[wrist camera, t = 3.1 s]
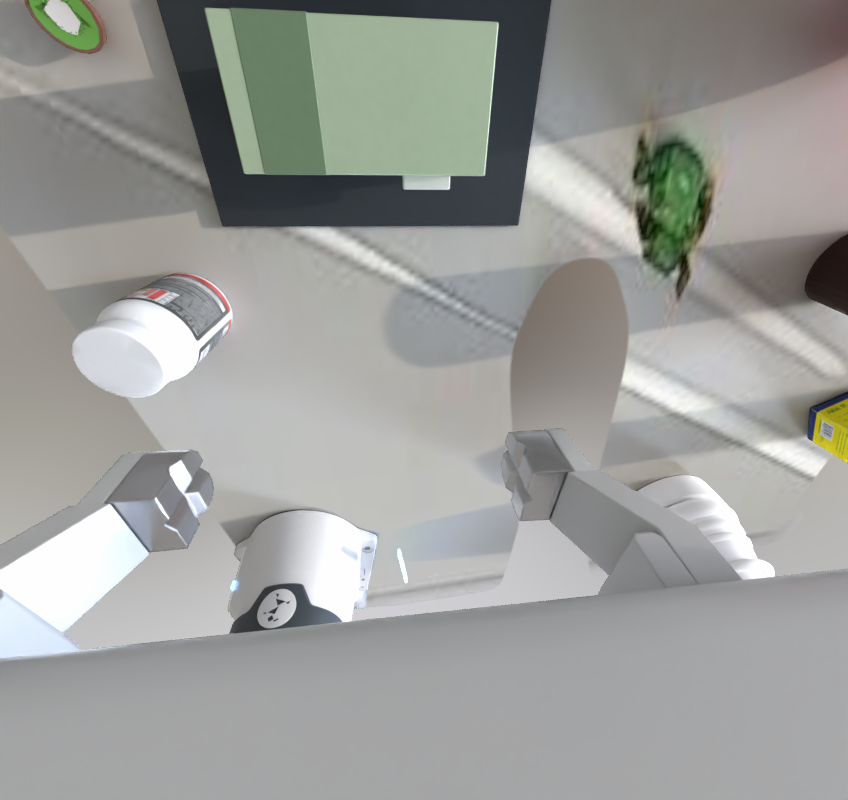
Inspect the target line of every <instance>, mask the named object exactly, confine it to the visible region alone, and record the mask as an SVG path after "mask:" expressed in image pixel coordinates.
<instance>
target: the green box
mask: <svg viewBox="0 0 848 800" xmlns="http://www.w3.org/2000/svg"><path fill="white" fill-rule="evenodd" d="M205 14H206V18H207V23H208V27H209V31H210V35H211V39H212V43H213V48H214V52H215V56H216V60H217V64H218V68H219V72H220V77H221V81H222V85H223V89H224V93H225V97H226V101H227V106H228V110H229V114H230V118H231V122H232V126H233V131H234V135H235V139H236V143H237V147H238V151H239V155H240V160H241V164H242V168H243V172H244V173H245V174H266V175H403V176H402V177H403V189H405V190H449V189H450V176H484V175H485V168H486V157H487V146H488V135H489V124H490V113H491V102H492V91H493V80H494V69H495V58H496V47H497V36H498V22H491V21H470V20H450V19H429V18H409V17H388V16H368V15H347V14H327V13H307V12H306V11H290V10H269V9H249V8H230V9H224V8H205Z"/></svg>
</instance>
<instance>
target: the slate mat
mask: <svg viewBox="0 0 848 800" xmlns="http://www.w3.org/2000/svg"><path fill="white" fill-rule="evenodd" d="M157 2H158V5H159V9H160V12H161V16H162V19H163V23H164V26H165V30H166V33H167V36H168V40H169V43H170V47H171V50H172V54H173V57H174V60H175V64H176V67H177V71H178V74H179V78H180V81H181V84H182V88H183V91H184V95H185V98H186V102H187V105H188V109H189V112H190V115H191V119H192V122H193V126H194V129H195V133H196V136H197V139H198V143H199V146H200V150H201V153H202V157H203V160H204V163H205V167H206V170H207V174H208V177H209V181H210V184H211V188H212V191H213V194H214V198H215V201H216V205H217V208H218V212H219V215H220V218H221V222H222V225H223V226H478V225H518V223H519V216H520V209H521V202H522V195H523V189H524V182H525V175H526V168H527V161H528V154H529V148H530V141H531V134H532V127H533V120H534V114H535V107H536V100H537V93H538V86H539V80H540V73H541V66H542V59H543V52H544V46H545V39H546V32H547V25H548V18H549V11H550V5H551V0H157ZM205 8H224V9H230V8H249V9H269V10H290V11H306V12H307V13H327V14H347V15H368V16H388V17H409V18H429V19H450V20H470V21H491V22H498V36H497V47H496V58H495V69H494V80H493V91H492V102H491V113H490V124H489V135H488V146H487V157H486V168H485V175H484V176H450V189H449V190H405V189H403V177H402V176H403V175H266V174H245V173H244V172H243V168H242V164H241V160H240V155H239V151H238V147H237V143H236V139H235V135H234V131H233V126H232V122H231V118H230V114H229V110H228V106H227V101H226V97H225V93H224V89H223V85H222V81H221V77H220V72H219V68H218V64H217V60H216V56H215V52H214V48H213V43H212V39H211V35H210V31H209V27H208V23H207V18H206V14H205Z"/></svg>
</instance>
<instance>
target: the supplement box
mask: <svg viewBox="0 0 848 800" xmlns="http://www.w3.org/2000/svg"><path fill="white" fill-rule="evenodd" d="M808 439H810V440H811V441H813V442H814V443H816V444H818V445H819V446H821V447H822V448H824V449H826V450H827V451H829V452H830V453H832V454H833V455H835V456H837V457H838V458H840V459H842V460H843V461H845V462H846V463H848V393H847V394H844V395H842V396H840V397H837V398H835V399H833V400H830V401H828V402H826V403H823V404H821V405H819V406H816V407H814V408H811V413H810V420H809V429H808Z"/></svg>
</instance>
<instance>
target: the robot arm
mask: <svg viewBox="0 0 848 800" xmlns="http://www.w3.org/2000/svg"><path fill="white" fill-rule="evenodd" d="M505 444H506V446H507V448H508V450H507V451H506V452H505V453H504V454H503V456H502V462H501V468H502V476H503V481H504V483H505V486H506V488H507V489H509V490H510V491H511V492H512V493H513V495H512V499H511V502H512V504H513V507H514V509H515V512H516V514H517V517H518V519H519V521H532V520H550V521H551V523H553V524H554V525H555V526H556V527H557V528H558V529H559V530H560V531H561V532H562V533H564V534H565V535H566V536H567V537H568V538H569V539H570V540H571V541H572V542H573V543H574V544H575V545H577V546H578V547H579V548H580V549H581V550H582V551H583V552H584V553H585V554H586V555H587V556H588V557H590V558H591V559H592V560H593V561H594V562H595V563H596V564H597V565H598V566H599V567H600V568H601V569H603V570H604V571H605V572H606V573H607V574H608V575H609V576H608V578H607V579H606V581H605V582H604V584H603V586H602V587H601V589H600V591H599V593H598V595H595V596H586V597H576V598H567V599H558V600H548V601H539V602H529V603H520V604H511V605H501V606H491V607H482V608H472V609H462V610H453V611H443V612H434V613H425V614H415V615H406V616H396V617H386V618H376V619H367V620H358V621H351V619H352V613H353V609H355V608H356V609H357V608H358V609H364V608H366V600H367V588H368V583H369V579H370V574H371V569H372V564H373V560H374V555H375V550H376V546H377V536H376V535H375V534H373V533H370V532H367V531H364V530H360V529H358V528H356V527H354V526H353V525H352V524H350V523H349V522H347V521H346V520H344V519H342V518H340V517H337V516H335V515H332V514H328V513H324V512H319V511H308V510H300V511H290V512H284V513H280V514H277V515H274V516H272V517H270V518H268V519H266V520H264V521H263V522H262V523H260V524H259V525H258V526H257V527H256V529H255V530H254V532H253V533H252V535H251V536H250V537H249V538H247V539H246V540H244V541H242V542H240V543H239V544H238V545H237V546H236V548H235V552H234V555H235V557H236V558H237V559H238V560H239V561H240V565H239V569H238V572H237V575H236V579H235V581H233V582H232V584H231V587H230V589H231V590H232V593H231V596H230V600H229V604H228V612H230V614H231V616H232V617H233V618H234V620H235V621H234V623H233V625H232V628H231V631H230V634H226V635H217V636H207V637H197V638H189V639H180V640H169V641H160V642H150V643H141V644H132V645H122V646H113V647H103V648H93V649H84V650H79V646H78V644H77V643H76V642H75V641H73V640H72V639H70V638H69V637H68V636H66V635H65V634H63V633H64V632H65V631H66V630H67V629H68V628H69V627H70V626H71V625H72V624H73V623H75V622H76V621H77V620H78V619H79V618H80V617H81V616H82V615H83V614H85V612H87V611H88V610H89V609H90V608H91V607H92V606H93V605H94V604H95V603H97V602H98V601H99V600H100V599H101V598H102V597H103V596H104V595H106V593H108V592H109V591H110V590H111V589H112V588H113V587H114V586H115V585H117V583H119V582H120V581H121V580H122V579H123V578H124V577H125V576H126V575H128V574H129V573H130V572H131V571H132V570H133V569H134V568H135V567H136V566H137V565H139V563H141V562H142V561H143V560H144V559H145V558H146V557H147V556H148V555H149V554H150V553H149V552H158V551H167V550H176V549H186V548H188V546H189V544H190V542H191V540H192V538H193V536H194V534H195V533H196V531H197V529H198V526H199V525H200V524H199V521H198V518H197V517H198V516H199V515H200V514H202V513H203V512H204V511H206V510H207V509H208V507H209V505H210V502H211V500H212V496H213V489H214V487H213V481H212V478H211V476H210V474H209V473H208V472H207V471H205V470H203V469H202V468H200V466H201V464H202V462H203V460H202V458H201V456H200V455H199V453H198V451H194V450H170V451H150V452H129V453H127V454H125V455H122V456H121V457H120V458H119V459H118V460H117V461H116V462H115V464H114V465H113V466H112V467H111V468H110V469H109V470H108V471H107V472H106V473H105V475H104V476H103V477H102V478H101V479H100V480H99V481H98V482H97V483H96V485H95V486H94V487H93V488H92V489H91V490H90V491H89V492H88V494H87V495H86V496H85V497H84V498H83V499H82V500H81V501H80V502H79V503H78V505H77V506H69V507H67V508H65V509H63V510H62V511H60V512H58V513H56V514H54V515H53V516H51V517H49V518H47V519H46V520H44V521H42V522H40V523H39V524H37V525H35V526H33V527H31V528H30V529H28V530H26V531H24V532H23V533H21V534H19V535H17V536H16V537H14V538H12V539H10V540H8V541H7V542H5V543H3V544H1V545H0V800H848V569H842V570H831V571H821V572H812V573H802V574H794V575H783V576H774V577H765V578H755V579H746V580H743V579H742V578H741V577H740V576H739V575H738V574H737V572H736V571H735V570H734V569H733V568H732V567H731V565H730V564H729V563H728V562H727V561H726V560H725V559H724V557H723V556H722V555H721V554H720V553H719V552H718V551H717V549H716V548H715V547H714V546H713V545H712V544H711V542H710V541H709V540H708V539H707V538H706V537H705V536H704V534H703V533H702V532H701V531H700V530H699V529H698V528H697V526H695V525H693V524H691V523H690V522H688V521H686V520H685V519H683V518H681V517H679V516H678V515H676V514H674V513H672V512H671V511H669V510H667V509H666V508H664V507H662V506H660V505H659V504H657V503H655V502H654V501H652V500H650V499H648V498H647V497H645V496H643V495H642V494H640V493H638V492H636V491H635V490H633V489H631V488H629V487H628V486H626V485H624V484H623V483H621V482H619V481H617V480H616V479H614V478H612V477H611V476H609V475H607V474H605V473H604V472H602V471H600V470H593V469H592V467H591V466H590V464H589V463H588V461H587V460H586V459H585V457H584V456H583V454H582V453H581V451H580V450H579V449H578V447H577V446H576V444H575V443H574V442H573V440H572V439H571V437H570V436H569V434H568V433H567V432H566V430H564V429H562V428H557V429H545V430H533V431H517V432H509V433H508V435H507V437H506V441H505ZM398 559H399V562H400V566H401V570H402V573H403V577H404V581H405V583H407V574H406V570H405V566H404V562H403V558H402V555H401V551H400V549H398Z"/></svg>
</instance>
